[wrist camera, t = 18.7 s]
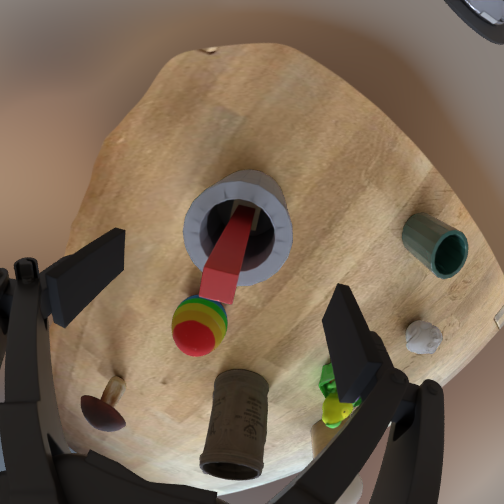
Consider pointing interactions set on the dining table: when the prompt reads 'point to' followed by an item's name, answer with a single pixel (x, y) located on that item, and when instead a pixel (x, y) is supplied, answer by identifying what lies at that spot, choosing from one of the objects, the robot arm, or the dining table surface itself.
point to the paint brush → (229, 253)
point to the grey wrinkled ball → (423, 337)
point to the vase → (260, 241)
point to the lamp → (319, 440)
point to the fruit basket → (333, 400)
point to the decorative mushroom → (105, 407)
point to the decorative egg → (199, 325)
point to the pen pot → (435, 244)
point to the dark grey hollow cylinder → (236, 427)
